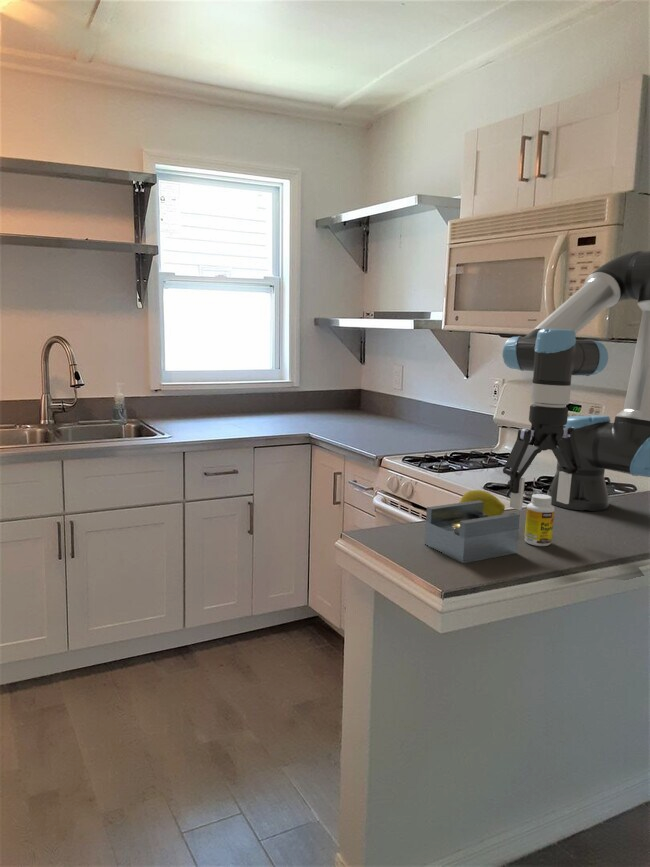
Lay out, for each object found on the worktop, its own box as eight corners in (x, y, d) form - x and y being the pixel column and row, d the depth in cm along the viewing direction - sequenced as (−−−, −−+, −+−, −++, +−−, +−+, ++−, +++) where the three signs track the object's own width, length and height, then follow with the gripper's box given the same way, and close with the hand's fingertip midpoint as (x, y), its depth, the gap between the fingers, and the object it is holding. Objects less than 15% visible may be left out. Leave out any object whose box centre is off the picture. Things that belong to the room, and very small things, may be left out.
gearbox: (476, 535, 147) (479, 500, 145) (516, 553, 136) (519, 514, 135) (424, 544, 140) (426, 507, 139) (462, 563, 130) (465, 523, 128)
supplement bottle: (539, 548, 140) (543, 500, 138) (518, 541, 144) (522, 494, 142) (557, 544, 143) (561, 497, 141) (535, 537, 147) (539, 491, 145)
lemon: (449, 522, 156) (451, 489, 155) (468, 516, 161) (471, 484, 160) (489, 534, 148) (492, 498, 147) (508, 527, 154) (511, 493, 152)
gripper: (576, 401, 148) (567, 496, 151) (490, 403, 136) (482, 506, 139) (605, 405, 141) (594, 504, 145) (517, 408, 129) (508, 515, 132)
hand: (539, 505), depth 142 cm, fingers open, 13 cm apart
